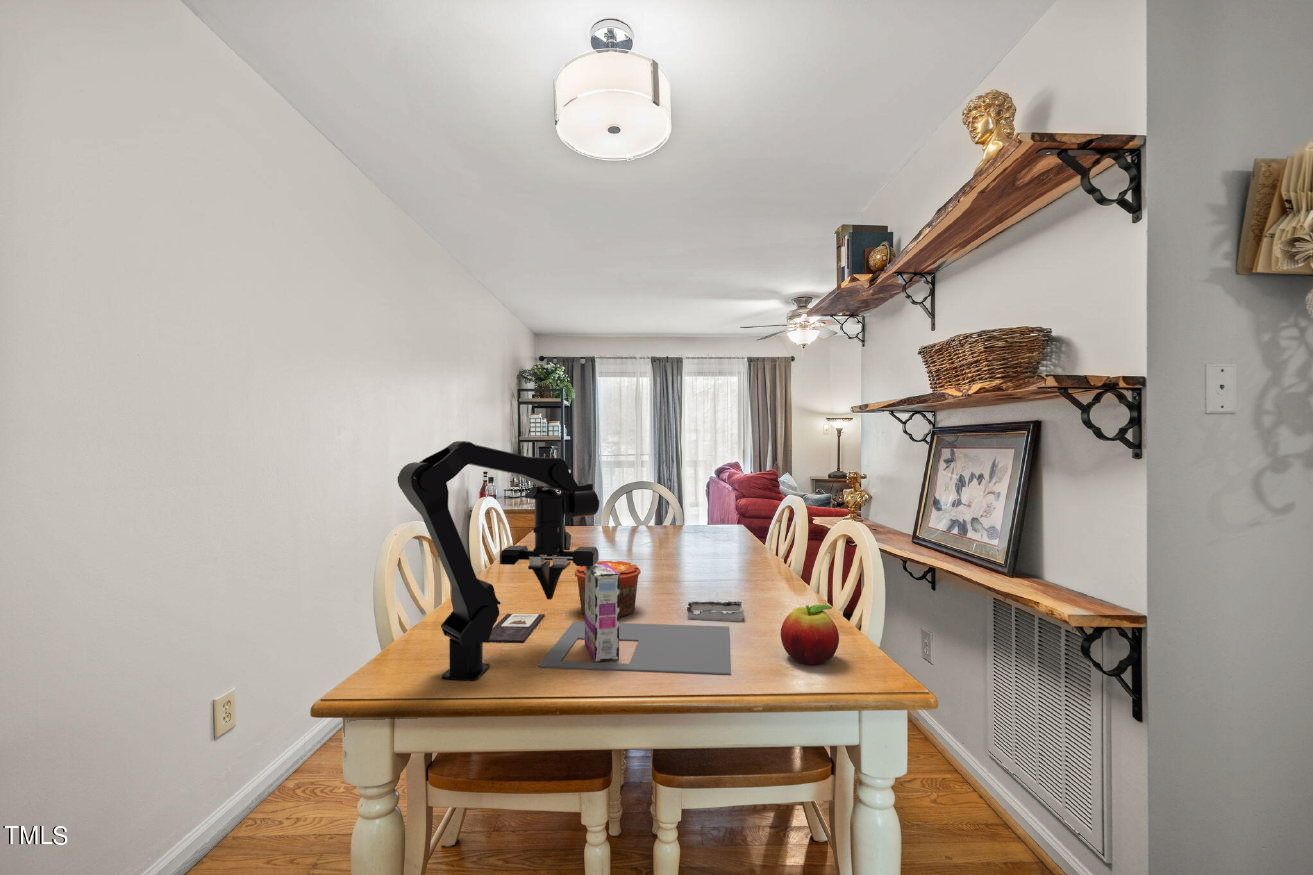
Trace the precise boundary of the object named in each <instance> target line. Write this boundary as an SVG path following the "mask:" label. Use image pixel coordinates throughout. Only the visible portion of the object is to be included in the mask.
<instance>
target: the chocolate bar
mask: <svg viewBox="0 0 1313 875" xmlns="http://www.w3.org/2000/svg"><path fill="white" fill-rule="evenodd" d="M545 617H546V614H544V613H541V614H540V613H507V614H506V615H504V616H503V617H502V618H501V619H500V620H499V621H498V622H496V623H495V624H494V626H493V629H492V632H491V635H490V638H489V641H487V642H486V643H490V642H494V643H495V642H496V644H497V642H498V643H500V644H501V643H502V642H503V643H502V644H506V643H507V644H509V643H512V644H525V643H526V641H527V640H528V639H529V638H530V636H531V635H532V634H533V632H534V631H535V630H536V628H537V627H538V624H541V622H542V621H543V619H544V618H545ZM541 620H542V621H541ZM534 629H535V630H534ZM533 630H534V631H533ZM494 643H493V644H494Z"/></svg>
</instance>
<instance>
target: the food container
mask: <svg viewBox="0 0 1313 875" xmlns="http://www.w3.org/2000/svg"><path fill="white" fill-rule="evenodd" d="M598 563H607V564H608V565H610V566H611V567H612V568H613V569H614V570H615V571H616V572H618V573H619V574H620V589H619V618H621V617H622V618H623V617H626V616H629V615H631V614H632V613H634V612H635V609H636V599H637V591H638V582H639V575H640V574H641V568H640V567H638V565H637V564H635V563H634V564H633V563H632V564H631V562H629V561H620V560H618V561H617V560H616V561H613V560H598V561H597V562H596V563H595V564H598ZM574 576H575V577H576V579H577V580H576V581H577V587H578V593H579V595H578V596H579V602H580V603H579V604H580V608H581V614H582V615H584V616H585V566H577V568H576V569H575V570H574Z"/></svg>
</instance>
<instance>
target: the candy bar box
mask: <svg viewBox="0 0 1313 875" xmlns="http://www.w3.org/2000/svg"><path fill="white" fill-rule="evenodd" d="M619 589H620V574H619V573H618V572H616V571H615V570H614V569H613V568H612V567H611V566H610V565H608V564H607V563H598V564H594V565H593V566H585V615H584V622H585V639H584V645H585V646H586V648H587V650H588V651H589V653H590V656H591V657H592V659H593V660H594V661H593V662H597V663H604V662H610V661H611V662H612V661H617V660H620V641H619V623H620V617H619Z"/></svg>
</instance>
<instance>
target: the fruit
mask: <svg viewBox="0 0 1313 875" xmlns="http://www.w3.org/2000/svg"><path fill="white" fill-rule="evenodd" d="M832 609H833V606H832V605H828V604H813V605H809V604H806V605H805V607H801V606H800V607H796V608H794V609H793V610H791V611H790V612H788V614H787V615H786V617H785V618H784V620H783V622H782V624H781V628H780V639H781V640H780V641H781V644H782V648H783V649H784V650H785V652H786V654H787V655H788V656H790V658H791V659H793V660H794V661H795V662H797V663H799V664H800V663H801V664H804V665H815V666H816V665H822V664H825V663H826V662H828V661H830V660H831V658H833V656H834V655H835V654H836V652H837V650H838V646H839V643H840V635H839V634H840V633H839V630H838V628H837V625H836V624H835V622H834V621H833V619H832V618H831V616H829V614H828V613H827V612H826V611H824V610H832Z"/></svg>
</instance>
